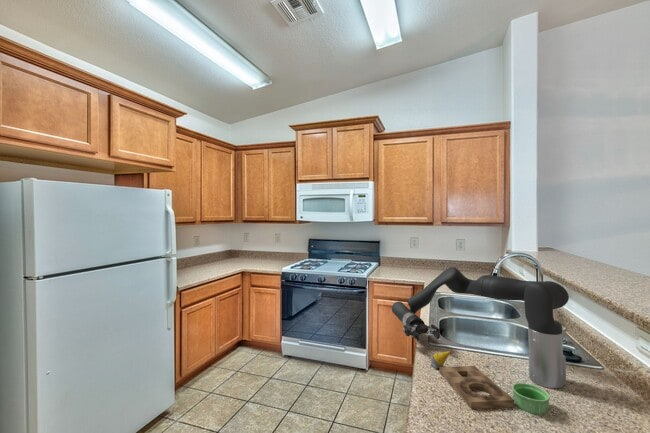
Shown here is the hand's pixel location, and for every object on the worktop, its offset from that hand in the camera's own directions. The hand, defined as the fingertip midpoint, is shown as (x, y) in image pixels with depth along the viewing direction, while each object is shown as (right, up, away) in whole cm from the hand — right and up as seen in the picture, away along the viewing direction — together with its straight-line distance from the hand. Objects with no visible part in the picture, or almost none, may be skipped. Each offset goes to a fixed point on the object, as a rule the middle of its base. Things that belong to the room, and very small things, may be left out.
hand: (428, 337), depth 119 cm
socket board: (+6, -7, -24) cm, 25 cm away
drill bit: (+1, -7, -10) cm, 12 cm away
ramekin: (+18, -7, -33) cm, 38 cm away
